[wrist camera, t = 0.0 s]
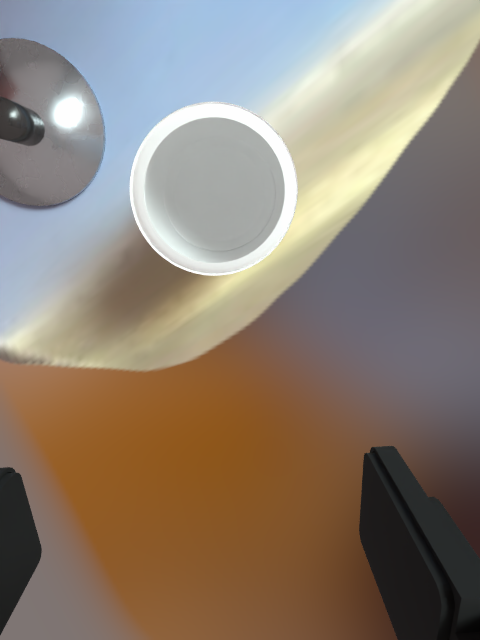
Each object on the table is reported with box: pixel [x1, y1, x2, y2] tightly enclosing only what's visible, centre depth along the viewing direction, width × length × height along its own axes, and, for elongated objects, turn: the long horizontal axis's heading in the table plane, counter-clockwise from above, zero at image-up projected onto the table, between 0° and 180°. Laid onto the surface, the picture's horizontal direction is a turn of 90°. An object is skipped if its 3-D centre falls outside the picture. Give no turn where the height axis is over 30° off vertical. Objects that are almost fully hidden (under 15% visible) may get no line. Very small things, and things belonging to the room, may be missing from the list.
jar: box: [130, 102, 298, 275], centre depth 30 cm, size 11×10×15 cm
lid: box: [0, 38, 105, 206], centre depth 33 cm, size 14×14×5 cm
